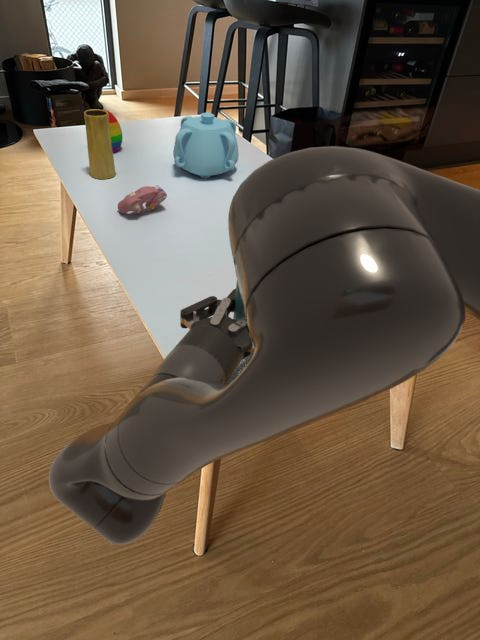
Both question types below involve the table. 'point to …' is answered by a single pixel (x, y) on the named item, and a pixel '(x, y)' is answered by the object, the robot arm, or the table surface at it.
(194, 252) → the table surface
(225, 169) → the decorative pot
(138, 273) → the table surface
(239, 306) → the cylinder
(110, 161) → the vase
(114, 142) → the decorative egg
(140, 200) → the video game controller
